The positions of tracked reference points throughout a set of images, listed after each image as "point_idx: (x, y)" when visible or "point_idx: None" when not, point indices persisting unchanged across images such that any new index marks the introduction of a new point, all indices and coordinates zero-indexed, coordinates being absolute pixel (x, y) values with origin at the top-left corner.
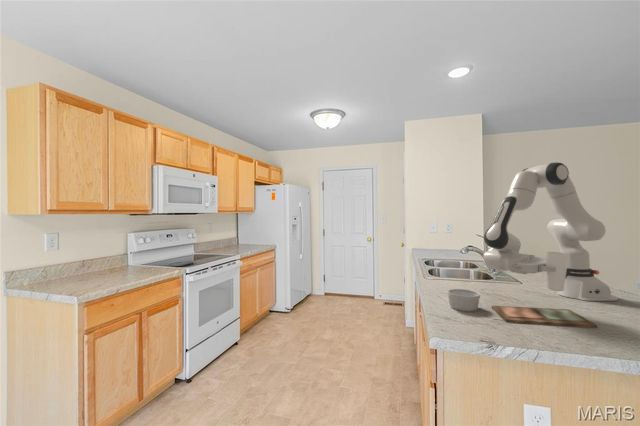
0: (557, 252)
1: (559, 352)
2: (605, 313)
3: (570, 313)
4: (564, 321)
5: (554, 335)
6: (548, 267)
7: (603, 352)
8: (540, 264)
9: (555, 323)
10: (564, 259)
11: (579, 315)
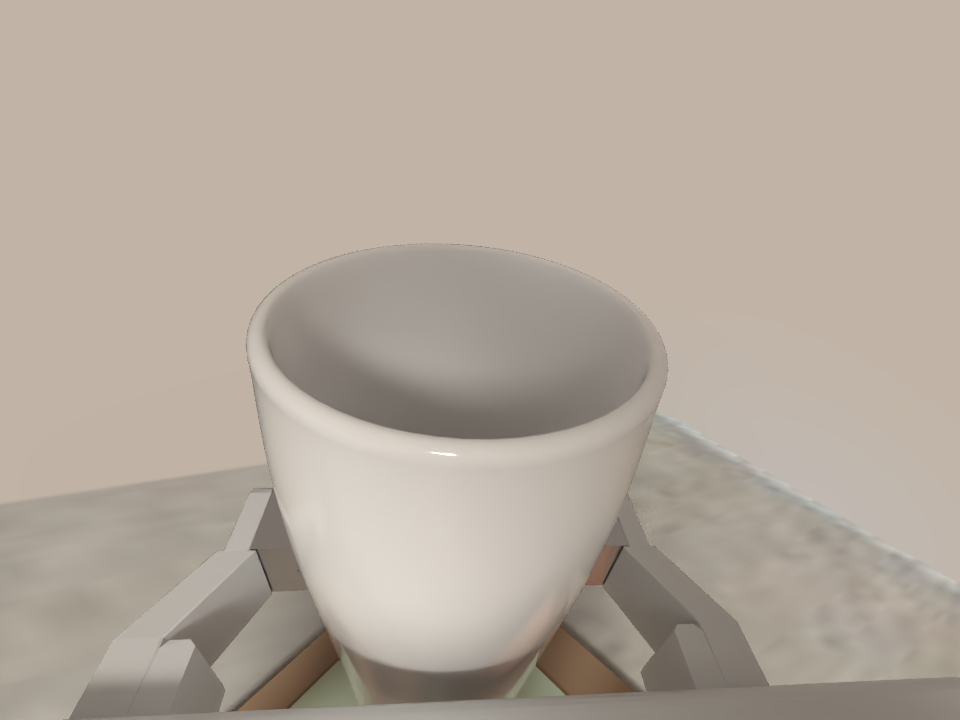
0: (266, 336)
1: (835, 517)
2: (84, 592)
3: (336, 687)
4: None
5: (732, 599)
6: (648, 550)
7: (679, 452)
8: (716, 689)
9: (601, 666)
10: (507, 324)
11: (320, 640)
